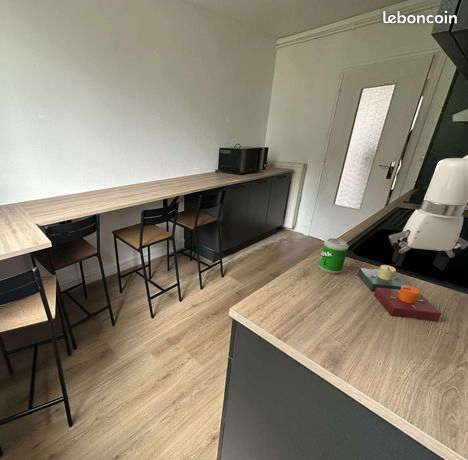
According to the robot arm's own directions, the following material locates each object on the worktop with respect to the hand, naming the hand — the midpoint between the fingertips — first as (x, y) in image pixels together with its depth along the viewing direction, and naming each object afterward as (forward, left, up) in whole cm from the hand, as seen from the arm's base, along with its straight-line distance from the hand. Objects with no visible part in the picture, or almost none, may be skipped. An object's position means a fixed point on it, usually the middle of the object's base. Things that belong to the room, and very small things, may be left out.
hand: (416, 265), depth 71 cm
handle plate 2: (0, +1, -14) cm, 14 cm away
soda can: (+14, -18, -14) cm, 27 cm away
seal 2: (0, +1, -11) cm, 11 cm away
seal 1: (0, -11, -11) cm, 16 cm away
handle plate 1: (0, -11, -14) cm, 18 cm away
